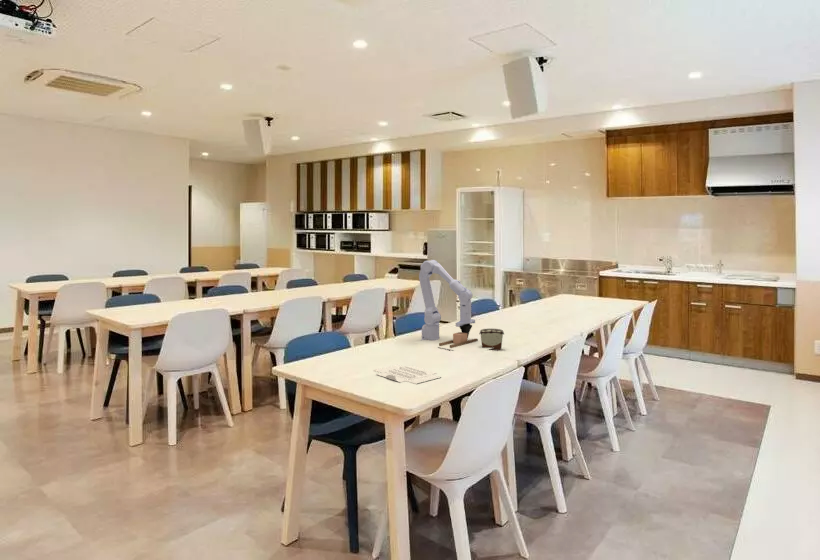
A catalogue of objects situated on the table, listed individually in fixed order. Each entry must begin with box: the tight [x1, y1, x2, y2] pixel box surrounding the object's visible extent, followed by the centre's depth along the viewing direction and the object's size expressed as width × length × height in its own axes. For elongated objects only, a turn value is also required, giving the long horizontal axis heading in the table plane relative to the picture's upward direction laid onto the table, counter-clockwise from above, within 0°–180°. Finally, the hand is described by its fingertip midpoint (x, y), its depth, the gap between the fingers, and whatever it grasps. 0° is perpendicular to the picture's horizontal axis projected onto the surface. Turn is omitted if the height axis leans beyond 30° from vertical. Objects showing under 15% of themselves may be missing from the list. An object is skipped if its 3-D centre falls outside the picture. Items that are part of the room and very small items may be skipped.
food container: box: [478, 328, 505, 351], centre depth 270 cm, size 12×6×10 cm, turn 84°
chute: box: [437, 338, 479, 352], centre depth 279 cm, size 10×22×2 cm, turn 137°
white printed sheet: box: [373, 364, 442, 385], centre depth 225 cm, size 20×28×4 cm
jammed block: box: [452, 331, 468, 344], centre depth 280 cm, size 5×6×5 cm
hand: (465, 338), depth 283 cm, fingers closed
